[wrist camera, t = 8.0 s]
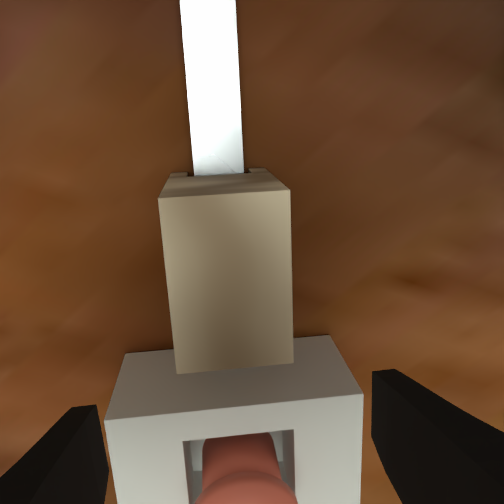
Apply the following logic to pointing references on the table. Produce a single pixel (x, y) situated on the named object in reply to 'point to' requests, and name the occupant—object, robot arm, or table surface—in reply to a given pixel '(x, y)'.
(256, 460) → the knob
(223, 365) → the block
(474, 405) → the table surface
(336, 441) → the white button housing
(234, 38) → the rail
